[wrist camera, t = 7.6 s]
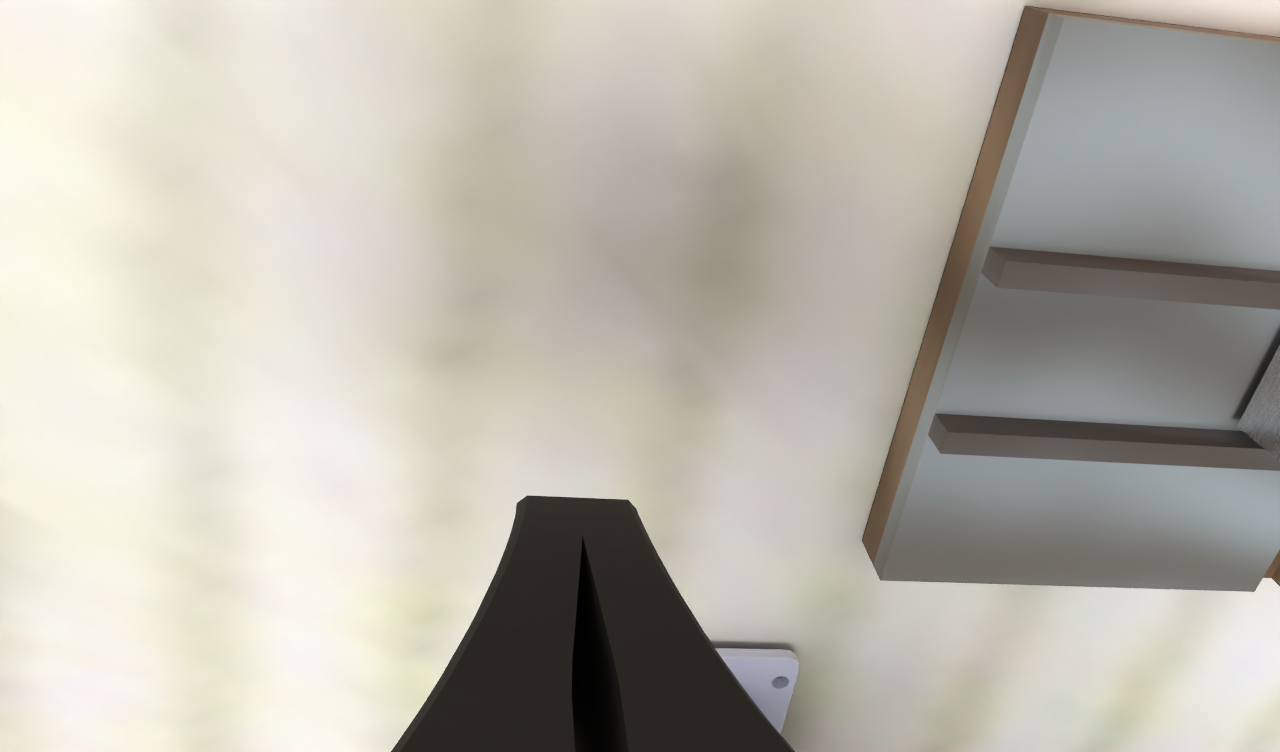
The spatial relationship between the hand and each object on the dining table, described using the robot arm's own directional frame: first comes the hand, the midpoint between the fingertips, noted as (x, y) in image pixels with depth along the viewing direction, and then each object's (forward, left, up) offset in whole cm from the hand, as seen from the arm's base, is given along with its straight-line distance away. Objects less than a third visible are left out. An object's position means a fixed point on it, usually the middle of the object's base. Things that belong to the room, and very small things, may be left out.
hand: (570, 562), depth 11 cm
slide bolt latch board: (-1, -20, -10) cm, 23 cm away
